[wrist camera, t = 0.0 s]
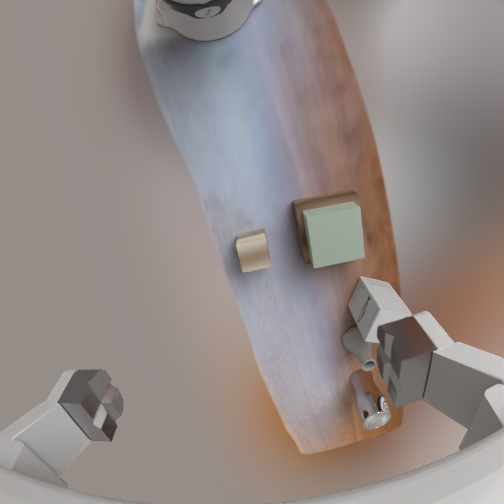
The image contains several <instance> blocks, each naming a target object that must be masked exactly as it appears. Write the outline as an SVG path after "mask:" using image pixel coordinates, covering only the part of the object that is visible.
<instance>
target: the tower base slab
mask: <svg viewBox="0 0 504 504" xmlns="http://www.w3.org/2000/svg"><path fill="white" fill-rule="evenodd" d="M352 201H353V202H354V203H356V204H357V205H358V206H359V203H358V195H357V193H355V192H354V191H352V190H347V191H341V192H336V193H330V194H325V195H320V196H315V197H309V198H304V199H299V200H294V201H293V206H294V211H295V216H296V222H297V227H298V233H299V239H300V245H301V250H302V256H303V259H304V262H305V264H310V263H312V262H311V260H310V255H309V249H308V242H307V236H306V230H305V224H304V218H303V212H302V211H304V210H310V209H315V208H320V207H325V206H330V205H336V204H341V203H346V202H352Z"/></svg>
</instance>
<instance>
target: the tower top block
mask: <svg viewBox="0 0 504 504" xmlns="http://www.w3.org/2000/svg"><path fill="white" fill-rule="evenodd" d="M302 212H303V218H304V224H305V230H306V236H307V242H308V249H309V255H310V260H311V262H312V265H313V267H314V269H315V268H320V267H324V266H329V265H334V264H339V263H343V262H348V261H353V260H357V259H362V258H365V255H364V241H363V230H362V219H361V209H360V207H359V206H358V205H357V204H356V203H354V202H353V201H352V202H346V203H341V204H336V205H330V206H325V207H320V208H315V209H310V210H304V211H302Z"/></svg>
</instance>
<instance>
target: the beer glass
mask: <svg viewBox="0 0 504 504" xmlns="http://www.w3.org/2000/svg"><path fill="white" fill-rule="evenodd" d="M350 383H351V384H352V386H353V387H354V390H355V393H356V403H357V409H358V413H359V416H360V418H361V420H362V423H363V425H364V427H365V428H367V429H375V428H378V427H381V426H383V425H384V424H386V423H387V422H388V421H389V420H390V417H391V414H390V411H389V408H388V405H387V402H386V400H385V398H384V396H383V394H382V393H381V391H380V390H379V389H378V387H377V386H376V384H375V383H374V380H373V374H372V372H371V371H367V372H366V371H364V370H362V369H361V370H358V371H356V372H355V373H353V374H352V376H351V377H350Z"/></svg>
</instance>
